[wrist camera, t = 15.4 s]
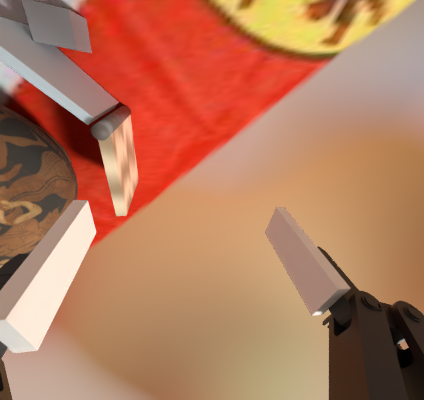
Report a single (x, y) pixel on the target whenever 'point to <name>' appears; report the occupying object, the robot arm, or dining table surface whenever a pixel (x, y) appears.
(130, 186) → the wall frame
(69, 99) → the door
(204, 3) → the dining table surface
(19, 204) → the vase
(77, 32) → the grey short block
